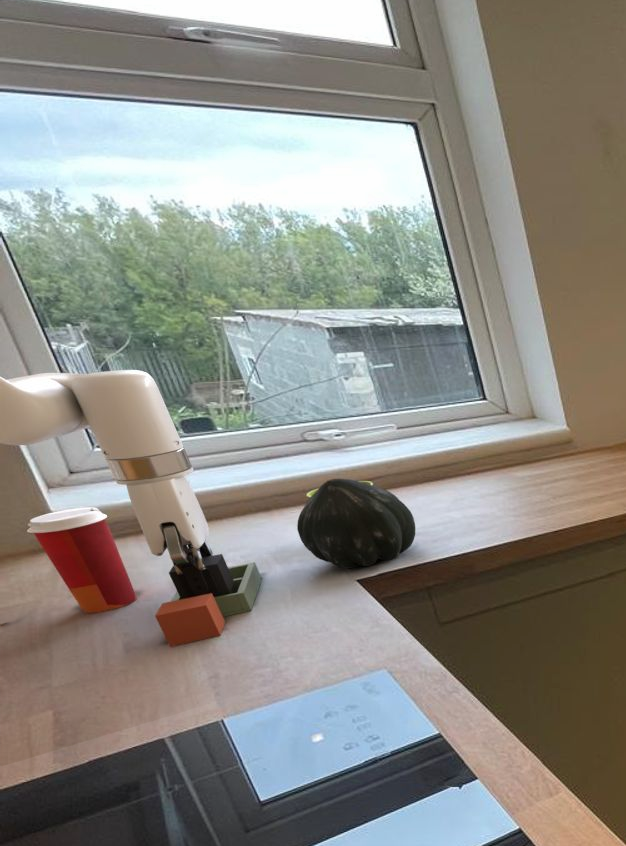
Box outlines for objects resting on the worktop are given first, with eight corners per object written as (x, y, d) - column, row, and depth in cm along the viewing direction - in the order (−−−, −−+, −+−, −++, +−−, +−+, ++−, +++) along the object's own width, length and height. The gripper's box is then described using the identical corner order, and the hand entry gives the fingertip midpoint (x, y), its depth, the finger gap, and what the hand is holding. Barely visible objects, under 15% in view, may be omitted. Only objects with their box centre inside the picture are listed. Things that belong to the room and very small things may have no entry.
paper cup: (146, 589, 124) (103, 502, 119) (146, 603, 119) (101, 513, 114) (73, 606, 119) (25, 515, 114) (69, 621, 114) (19, 527, 109)
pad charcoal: (182, 602, 112) (168, 572, 110) (188, 591, 115) (175, 562, 114) (230, 593, 114) (217, 563, 113) (234, 582, 118) (222, 553, 116)
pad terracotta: (170, 646, 105) (154, 615, 103) (176, 633, 109) (162, 603, 107) (220, 635, 108) (206, 604, 106) (225, 622, 112) (211, 592, 110)
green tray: (175, 627, 111) (166, 608, 110) (193, 592, 122) (185, 575, 121) (251, 610, 115) (243, 592, 114) (262, 578, 126) (254, 562, 125)
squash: (396, 504, 142) (309, 456, 129) (449, 517, 136) (363, 468, 123) (348, 576, 137) (252, 533, 124) (401, 592, 131) (306, 549, 118)
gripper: (127, 459, 112) (183, 579, 119) (95, 485, 99) (160, 618, 106) (199, 449, 116) (249, 566, 123) (178, 474, 103) (235, 603, 110)
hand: (207, 589), depth 115 cm, fingers closed on pad charcoal, 5 cm apart
